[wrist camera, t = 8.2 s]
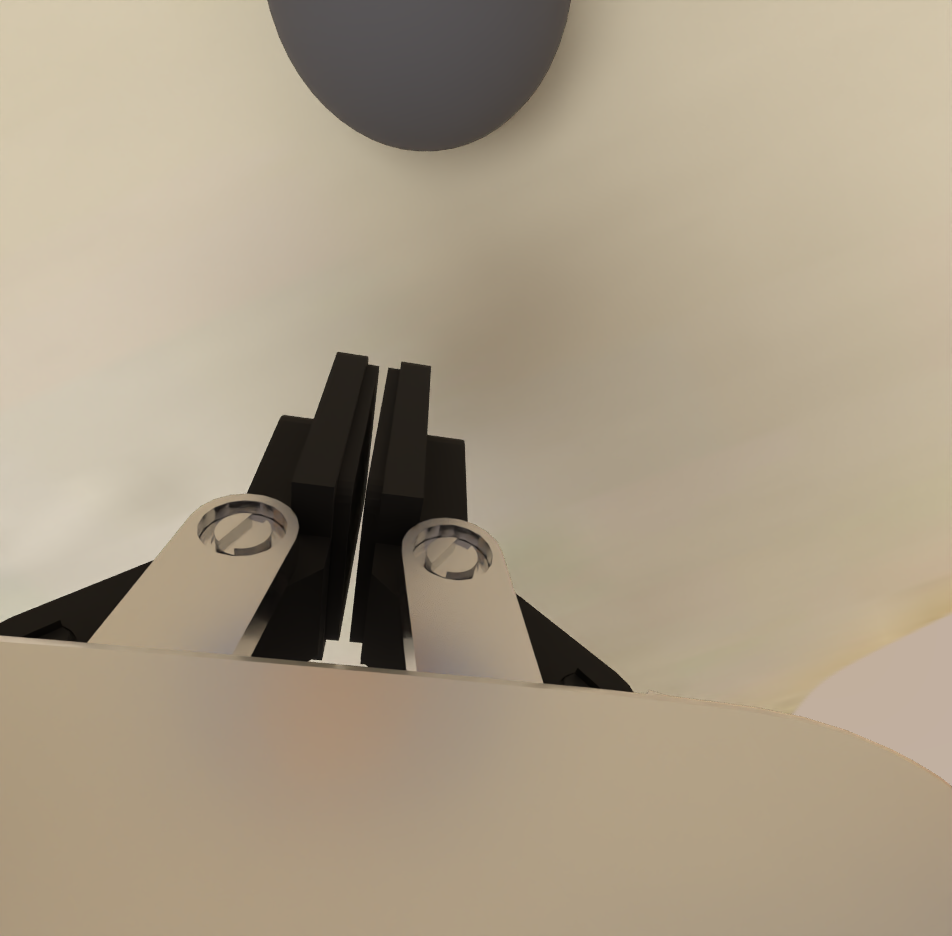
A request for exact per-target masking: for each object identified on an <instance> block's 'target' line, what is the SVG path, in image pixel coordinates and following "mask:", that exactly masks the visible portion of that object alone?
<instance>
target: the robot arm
mask: <svg viewBox="0 0 952 936" xmlns="http://www.w3.org/2000/svg"><path fill="white" fill-rule="evenodd" d="M378 374H379V366H374V365H368V356H362V355H355V354H349V353H342V352H337V355H336V357H335V360H334V363H333V366H332V369H331V372H330V374H329V377H328V380H327V383H326V386H325V389H324V391H323V394H322V397H321V400H320V403H319V406H318V408H317V411H316V414H315V417H314V419H309V418H302V417H295V416H287V415H282V416H281V418H280V420H279V422H278V424H277V426H276V429H275V431H274V433H273V435H272V438H271V440H270V442H269V444H268V447H267V449H266V451H265V453H264V456H263V458H262V460H261V463H260V465H259V467H258V469H257V472H256V474H255V476H254V478H253V481H252V483H251V485H250V487H249V490H248V492H247V494H236V495H228V496H225V497H221V498H217V499H214V500H212V501H210V502H208V503H206V504H204V505H202V506H200V507H199V508H198V509H197V510H196V511H195V512H193V513H192V514H191V515H190V516H189V518H188V519H187V520H186V521H185V522H184V524H183V525H182V526H181V527H180V529H179V530H178V531H177V532H176V534H175V535H174V536H173V537H172V539H171V540H170V541H169V542H168V543H167V545H166V546H165V547H164V548H163V550H162V551H161V552H160V553H159V555H158V556H157V557H156V558H155V559H154V560H153V561H150V562H148V563H145V564H143V565H140V566H138V567H135V568H133V569H130V570H128V571H125V572H123V573H121V574H118V575H116V576H113V577H111V578H108V579H106V580H103V581H101V582H98V583H96V584H93V585H91V586H88V587H86V588H83V589H81V590H78V591H76V592H73V593H71V594H68V595H66V596H63V597H61V598H58V599H56V600H53V601H51V602H48V603H46V604H43V605H41V606H38V607H36V608H33V609H31V610H28V611H26V612H23V613H21V614H18V615H16V616H13V617H11V618H9V619H7V620H5V621H3V622H1V623H0V936H952V786H951V785H949V784H948V783H947V782H946V781H945V780H943V779H942V778H941V777H939V776H938V775H936V774H935V773H933V772H931V771H930V770H928V769H926V768H925V767H923V766H921V765H920V764H918V763H916V762H914V761H913V760H911V759H909V758H907V757H905V756H903V755H901V754H899V753H897V752H896V751H894V750H892V749H889V748H887V747H885V746H883V745H880V744H878V743H875V742H873V741H871V740H868V739H866V738H864V737H861V736H859V735H857V734H854V733H852V732H849V731H847V730H844V729H841V728H837V727H834V726H831V725H828V724H825V723H821V722H818V721H815V720H811V719H808V718H805V717H801V716H796V715H792V714H787V713H782V712H777V711H772V710H767V709H763V708H758V707H751V706H743V705H736V704H728V703H721V702H713V701H706V700H698V699H690V698H683V697H675V696H669V695H665V694H662V693H658V692H655V691H652V690H648V692H647V694H644V693H634V692H633V691H632V689H631V688H630V686H629V685H628V684H627V683H626V682H625V681H624V680H623V679H622V678H621V677H620V676H619V675H618V674H617V673H616V672H615V671H614V670H612V669H611V668H610V667H608V666H607V665H606V664H605V663H603V662H602V661H601V660H600V659H598V658H597V657H596V656H594V655H593V654H592V653H591V652H589V651H588V650H587V649H586V648H584V647H583V646H582V645H581V644H579V643H578V642H577V641H575V640H574V639H573V638H572V637H570V636H569V635H568V634H567V633H565V632H564V631H563V630H562V629H560V628H559V627H558V626H556V625H555V624H554V623H553V622H551V621H550V620H549V619H548V618H546V617H545V616H544V615H543V614H541V613H540V612H539V611H537V610H536V609H535V608H534V607H532V606H531V605H530V604H529V603H527V602H526V601H525V600H524V599H522V598H521V597H520V596H518V595H517V594H516V593H515V590H514V587H513V584H512V581H511V578H510V574H509V571H508V568H507V565H506V562H505V558H504V555H503V552H502V550H501V548H500V546H499V544H498V542H497V541H496V540H495V539H494V538H493V537H492V536H491V535H490V534H489V533H488V532H487V531H485V530H484V529H482V528H480V527H478V526H477V525H475V524H472V523H469V522H468V520H467V493H466V466H465V444H464V440H460V439H452V438H445V437H438V436H431V435H427V428H428V410H429V392H430V374H431V366H426V365H420V364H413V363H407V362H401V368H400V369H394V368H388V373H387V379H386V384H385V390H384V395H383V401H382V406H381V412H380V417H379V423H378V428H377V434H376V439H375V445H374V450H373V456H372V461H371V467H370V472H369V478H368V483H367V475H368V466H369V457H370V448H371V439H372V430H373V420H374V411H375V402H376V393H377V384H378ZM366 485H367V490H366ZM365 493H366V497H365ZM364 500H365V504H364ZM363 506H364V513H363V522H362V531H361V541H360V550H359V559H358V568H357V577H356V586H355V596H354V605H353V614H352V623H351V632H350V642H359V643H363V644H362V652H361V663H360V664H366V665H367V666H368V667H361V666H350V665H339V664H328V663H317V662H308V661H310V660H311V659H313V660H322V657H323V652H324V647H325V642H326V639H327V640H337V641H339V637H340V632H341V626H342V621H343V616H344V610H345V605H346V599H347V594H348V588H349V583H350V577H351V572H352V566H353V561H354V555H355V550H356V544H357V539H358V533H359V528H360V522H361V517H362V511H363Z"/></svg>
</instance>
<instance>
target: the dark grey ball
mask: <svg viewBox="0 0 952 936" xmlns="http://www.w3.org/2000/svg"><path fill="white" fill-rule="evenodd" d="M570 2H571V0H268V4H269V8H270V12H271V15H272V18H273V21H274V23H275V26H276V29H277V32H278V35H279V38H280V40H281V42H282V44H283V46H284V48H285V51H286V53H287V55H288V57H289V59H290V61H291V62H292V64H293V66H294V67H295V69H296V71H297V72H298V74H299V76H300V77H301V78H302V80H303V81H304V82H305V84H306V85H307V86H308V88H309V89H310V90H311V92H312V93H313V94H314V95H315V96H316V97H317V98H318V99H319V101H320V102H321V103H322V104H323V105H324V106H325V107H326V108H327V109H328V110H329V111H331V112H332V113H333V114H334V115H335V116H336V117H337V118H339V119H340V120H341V121H342V122H344V123H345V124H347V125H348V126H350V127H351V128H352V129H354V130H355V131H357V132H359V133H361V134H363V135H364V136H366V137H368V138H370V139H372V140H375V141H377V142H380V143H382V144H385V145H388V146H392V147H396V148H400V149H405V150H413V151H439V150H446V149H452V148H456V147H459V146H463V145H466V144H469V143H471V142H474V141H476V140H478V139H481V138H483V137H485V136H486V135H488V134H490V133H491V132H493V131H494V130H496V129H498V128H499V127H500V126H501V125H503V124H504V123H505V122H506V121H508V120H509V119H510V118H511V117H512V116H513V115H514V114H515V113H516V112H517V111H518V110H519V109H520V108H521V107H522V106H523V105H524V104H525V103H526V102H527V101H528V100H529V98H530V97H531V96H532V94H533V93H534V92H535V90H536V89H537V88H538V86H539V85H540V83H541V81H542V80H543V78H544V76H545V75H546V73H547V71H548V69H549V68H550V65H551V63H552V61H553V58H554V56H555V54H556V52H557V49H558V47H559V44H560V41H561V38H562V35H563V32H564V28H565V25H566V22H567V17H568V12H569V7H570Z"/></svg>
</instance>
